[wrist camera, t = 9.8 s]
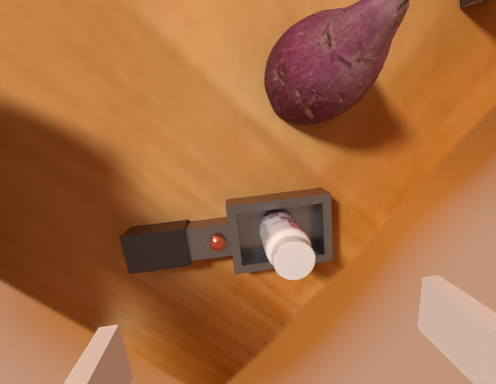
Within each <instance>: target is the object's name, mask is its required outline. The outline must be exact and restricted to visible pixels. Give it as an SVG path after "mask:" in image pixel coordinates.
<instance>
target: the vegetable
mask: <svg viewBox="0 0 496 384" xmlns="http://www.w3.org/2000/svg"><path fill="white" fill-rule="evenodd" d="M409 1H410V0H361V1H359V2H357V3H355V4H353V5H351V6H348V7H345V8H338V9H330V10H323V11H320V12H317V13H315V14H312V15H310V16H308V17H306V18H304V19H302V20H300V21H299V22H297V23H296V24H294V25H293V26H291V27H290V28H289V29H288V30H287V31H286V32H285V33H284V34H283V35H282V36H281V37H280V39H279V40H278V41H277V43H276V44H275V46H274V47H273V49H272V51H271V53H270V55H269V58H268V61H267V65H266V70H265V89H266V93H267V95H268V98H269V101H270V103H271V105H272V108H273V110H274V111H275V113H276V114H277V115H278V116H279V117H280V118H281V119H283V120H287V121H290V122H294V123H299V124H304V125H306V124H314V123H318V124H319V122H322V121H325V120H328V119H331V118H333V117H335V116H337V115H339V114H341V113H343V112H345V111H346V110H348V109H349V108H351V107H352V106H353V105H355V104H356V103H357V102H358V101H360V100H361V99H362V97H363V96H364V94H365V93H366V92H367V91H368V90H369V89H370V87H371V86H372V85H373V83H374V82H375V80H376V79H377V77H378V75H379V73H380V72H381V70H382V68H383V65H384V62H385V60H386V57H387V55H388V53H389V49H390V46H391V42H392V39H393V37H394V35H395V33H396V31H397V30H398V28H399V26H400V24H401V22H402V20H403V18H404V16H405V14H406V11H407V9H408V7H409Z"/></svg>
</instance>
